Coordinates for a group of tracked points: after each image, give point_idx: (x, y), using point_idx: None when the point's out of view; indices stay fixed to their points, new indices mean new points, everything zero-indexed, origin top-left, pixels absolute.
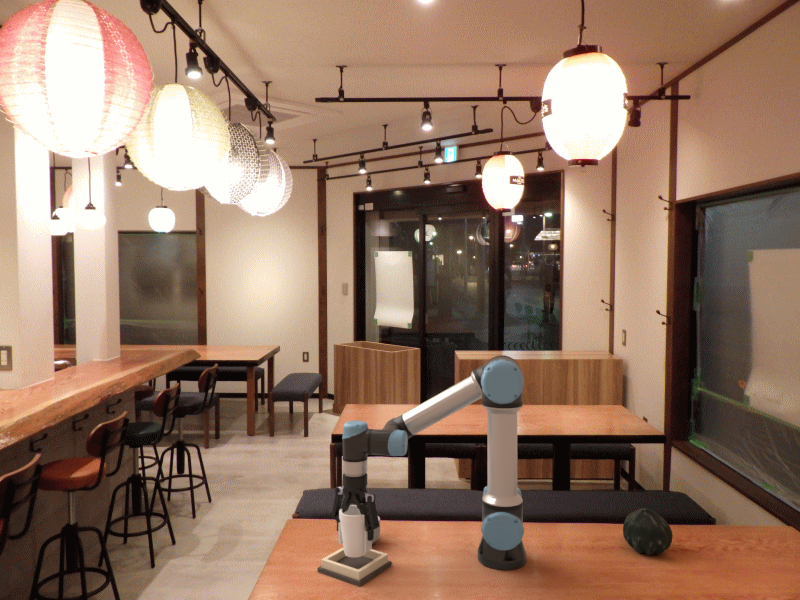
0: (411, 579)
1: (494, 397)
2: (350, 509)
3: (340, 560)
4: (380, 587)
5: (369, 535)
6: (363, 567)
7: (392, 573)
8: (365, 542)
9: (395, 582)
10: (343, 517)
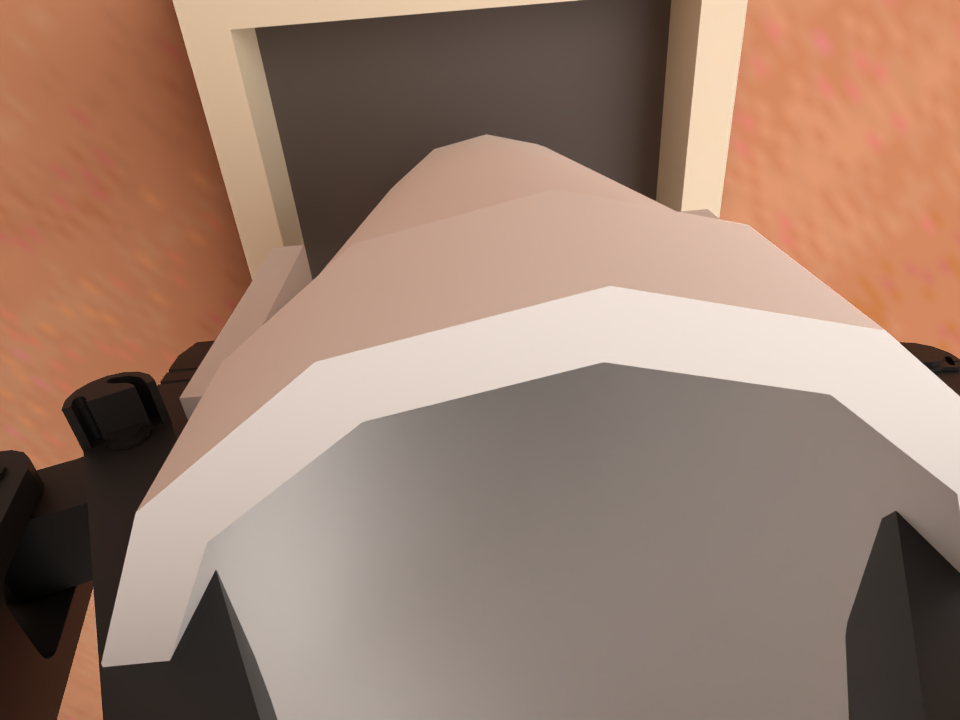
0: (18, 345)
1: None
2: (800, 680)
3: (640, 187)
4: (38, 79)
5: (183, 385)
6: (233, 110)
7: (194, 327)
8: (253, 296)
9: (45, 235)
10: (642, 254)
